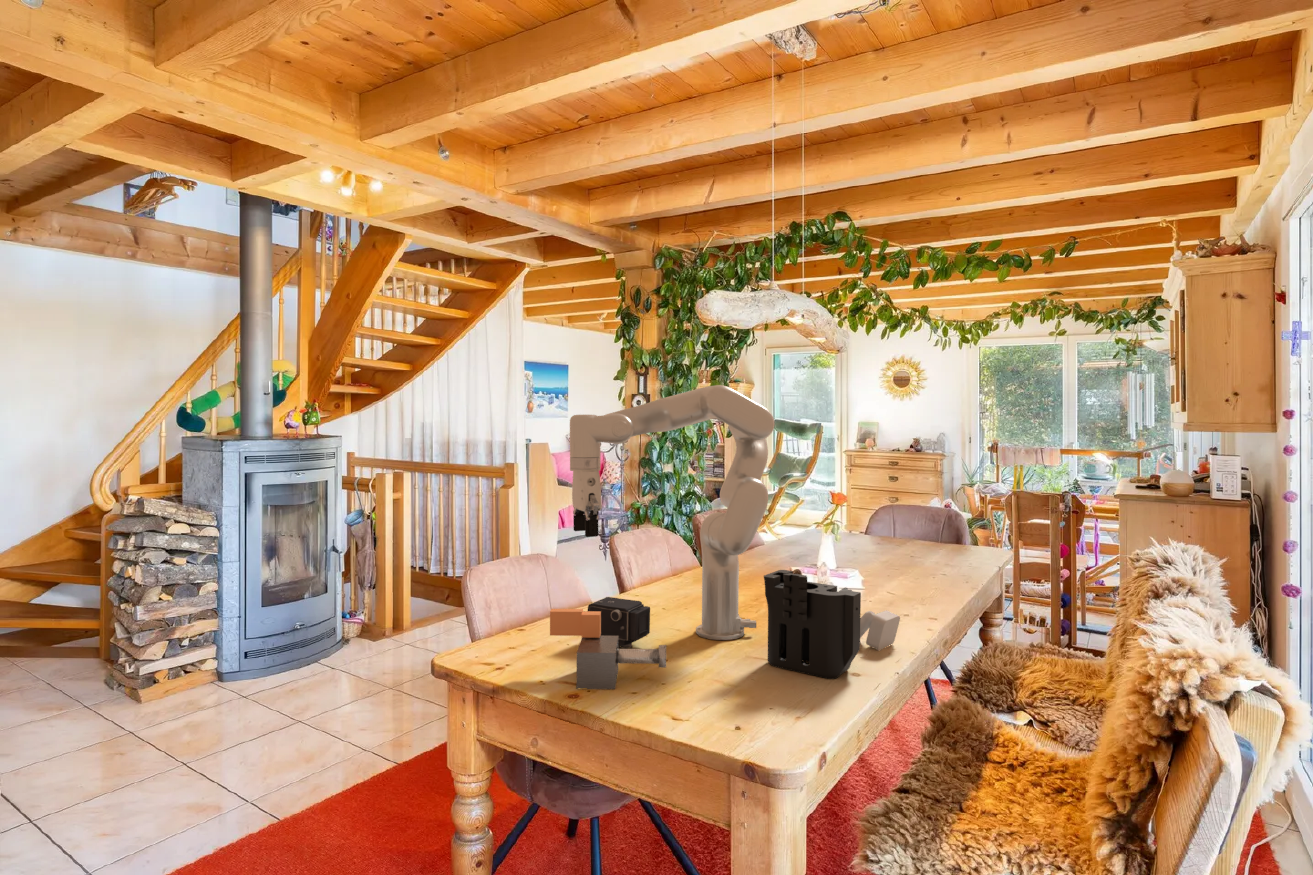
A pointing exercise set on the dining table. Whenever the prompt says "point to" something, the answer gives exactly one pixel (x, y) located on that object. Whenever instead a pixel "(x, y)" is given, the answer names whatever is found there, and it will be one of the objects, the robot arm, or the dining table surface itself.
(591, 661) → the block
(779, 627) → the black machined bracket
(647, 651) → the pin
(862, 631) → the wall hook
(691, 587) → the dining table surface
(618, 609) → the camera
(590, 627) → the plate
